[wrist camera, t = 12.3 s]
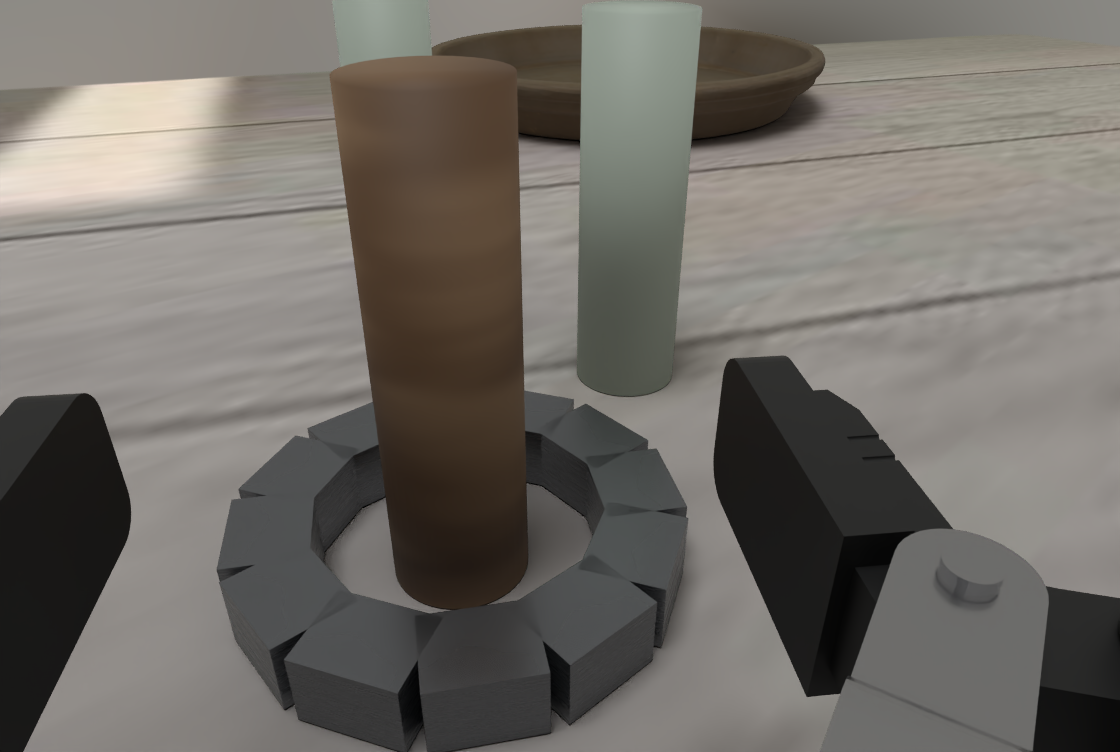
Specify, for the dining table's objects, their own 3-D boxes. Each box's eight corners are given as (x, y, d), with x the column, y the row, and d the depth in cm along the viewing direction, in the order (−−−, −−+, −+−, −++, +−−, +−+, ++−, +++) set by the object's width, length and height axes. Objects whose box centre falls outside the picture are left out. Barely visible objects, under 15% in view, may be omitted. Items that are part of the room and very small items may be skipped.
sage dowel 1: (354, 288, 36) (312, -18, 30) (420, 268, 38) (394, -24, 32) (396, 315, 34) (360, -11, 27) (464, 291, 36) (445, -17, 29)
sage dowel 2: (557, 369, 30) (557, 6, 24) (623, 339, 32) (639, -3, 26) (625, 407, 28) (644, 18, 22) (691, 373, 30) (726, 8, 23)
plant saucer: (399, 80, 76) (394, 26, 74) (702, 61, 84) (706, 13, 82) (482, 176, 51) (478, 98, 48) (903, 135, 59) (917, 68, 57)
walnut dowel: (370, 555, 21) (296, 70, 15) (475, 500, 23) (447, 50, 17) (445, 632, 19) (394, 100, 13) (555, 564, 21) (555, 73, 15)
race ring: (169, 545, 22) (151, 491, 21) (499, 398, 28) (497, 351, 27) (391, 862, 15) (380, 802, 14) (766, 570, 21) (776, 515, 20)
